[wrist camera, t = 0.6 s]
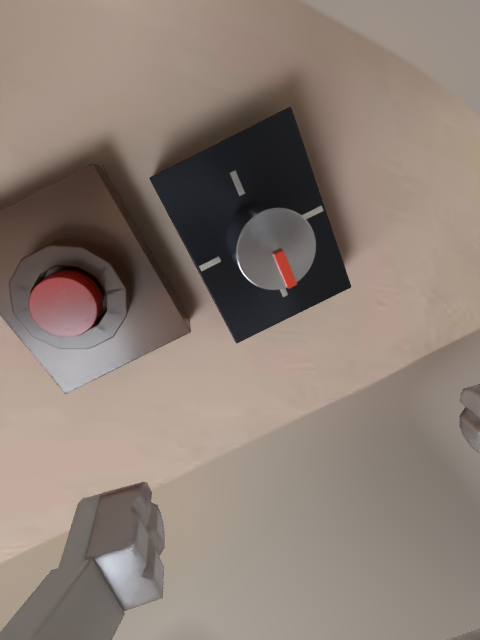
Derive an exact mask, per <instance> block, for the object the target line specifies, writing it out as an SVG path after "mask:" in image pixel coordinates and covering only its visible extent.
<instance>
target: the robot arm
mask: <svg viewBox="0 0 480 640" xmlns="http://www.w3.org/2000/svg"><path fill="white" fill-rule="evenodd" d="M460 402H461V403H462V404H463V405H464V406H465V409H464V410H463V412H462V413H461V415H460V429H461V431H462V434H463V436H464V438H465V439H466V441H467V442H468V444H469V445H470V446H471V447H472V448H473V449H474V450H475V451H477V452H478V453H480V384H478V385H475V386H471V387H468V388H464V389H463V391H462V392H461V396H460ZM151 497H152V492H151V490H150V488H149V486H148V484H147V483H146V482H142V483H138V484H134V485H130V486H127V487H123V488H119V489H115V490H111V491H108V492H104V493H102V494H98V495H95V496H91V497H87V498H83V499H82V500H81V501H80V502H79V503H78V505H77V508H76V512H75V515H74V518H73V522H72V525H71V528H70V532H69V535H68V538H67V542H66V545H65V548H64V552H63V555H62V558H61V561H60V565H59V568H57V569H54V570H51V572H50V573H49V574H48V575H47V576H46V578H45V579H44V580H43V581H42V583H41V584H40V585H39V586H38V587H37V589H36V590H35V591H34V592H33V593H32V594H31V596H30V597H29V598H28V599H27V601H26V602H25V603H24V604H23V605H22V607H21V608H20V609H19V610H18V611H17V613H16V614H15V615H14V617H12V619H11V620H10V621H9V622H8V623H7V625H6V626H5V627H4V628H3V630H2V631H1V632H0V640H112V638H113V636H114V634H115V632H116V630H117V628H118V626H119V624H120V622H121V620H122V618H123V616H124V612H123V611H126V610H129V609H132V608H135V607H138V606H141V605H144V604H146V603H149V602H152V601H155V600H158V599H161V598H163V576H164V566H163V564H162V562H161V560H160V557H159V556H160V554H161V552H162V551H163V549H164V548H165V547H164V545H165V535H164V525H163V520H162V516H161V512H160V510H159V508H158V505H156V504H153V503H152V502H151ZM447 640H480V629H477V630H474V631H471V632H468V633H465V634H462V635H459V636H457V637H454V638H451V639H447Z"/></svg>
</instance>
